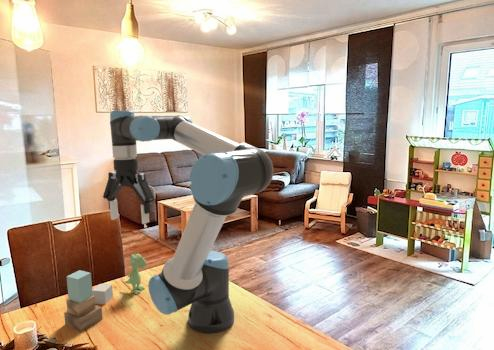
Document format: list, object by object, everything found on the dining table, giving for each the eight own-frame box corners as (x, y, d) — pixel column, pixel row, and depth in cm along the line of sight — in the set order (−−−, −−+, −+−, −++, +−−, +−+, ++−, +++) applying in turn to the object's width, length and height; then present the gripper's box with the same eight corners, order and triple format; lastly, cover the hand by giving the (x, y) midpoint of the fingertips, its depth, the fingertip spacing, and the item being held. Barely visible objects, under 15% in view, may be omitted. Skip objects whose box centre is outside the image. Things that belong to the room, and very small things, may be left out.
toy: (148, 292, 135) (146, 255, 133) (126, 297, 132) (125, 258, 129) (143, 284, 142) (142, 249, 139) (123, 289, 138) (121, 252, 135)
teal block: (92, 295, 116) (90, 272, 114) (79, 303, 111) (77, 279, 110) (81, 292, 118) (79, 270, 116) (68, 299, 113) (66, 276, 112)
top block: (95, 308, 116) (94, 296, 115) (78, 317, 111) (77, 304, 110) (84, 303, 119) (83, 291, 118) (67, 312, 114) (66, 299, 113)
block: (112, 297, 132) (112, 284, 131) (105, 304, 127) (104, 291, 126) (100, 296, 133) (99, 283, 132) (92, 303, 128) (91, 290, 127)
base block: (102, 319, 118) (101, 307, 117) (81, 332, 111) (80, 319, 110) (86, 313, 122) (85, 301, 121) (65, 325, 115) (64, 312, 114)
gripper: (163, 158, 114) (166, 221, 117) (106, 156, 124) (110, 214, 128) (147, 160, 107) (151, 228, 110) (88, 158, 118) (94, 220, 121)
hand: (129, 220), depth 119 cm, fingers open, 13 cm apart
